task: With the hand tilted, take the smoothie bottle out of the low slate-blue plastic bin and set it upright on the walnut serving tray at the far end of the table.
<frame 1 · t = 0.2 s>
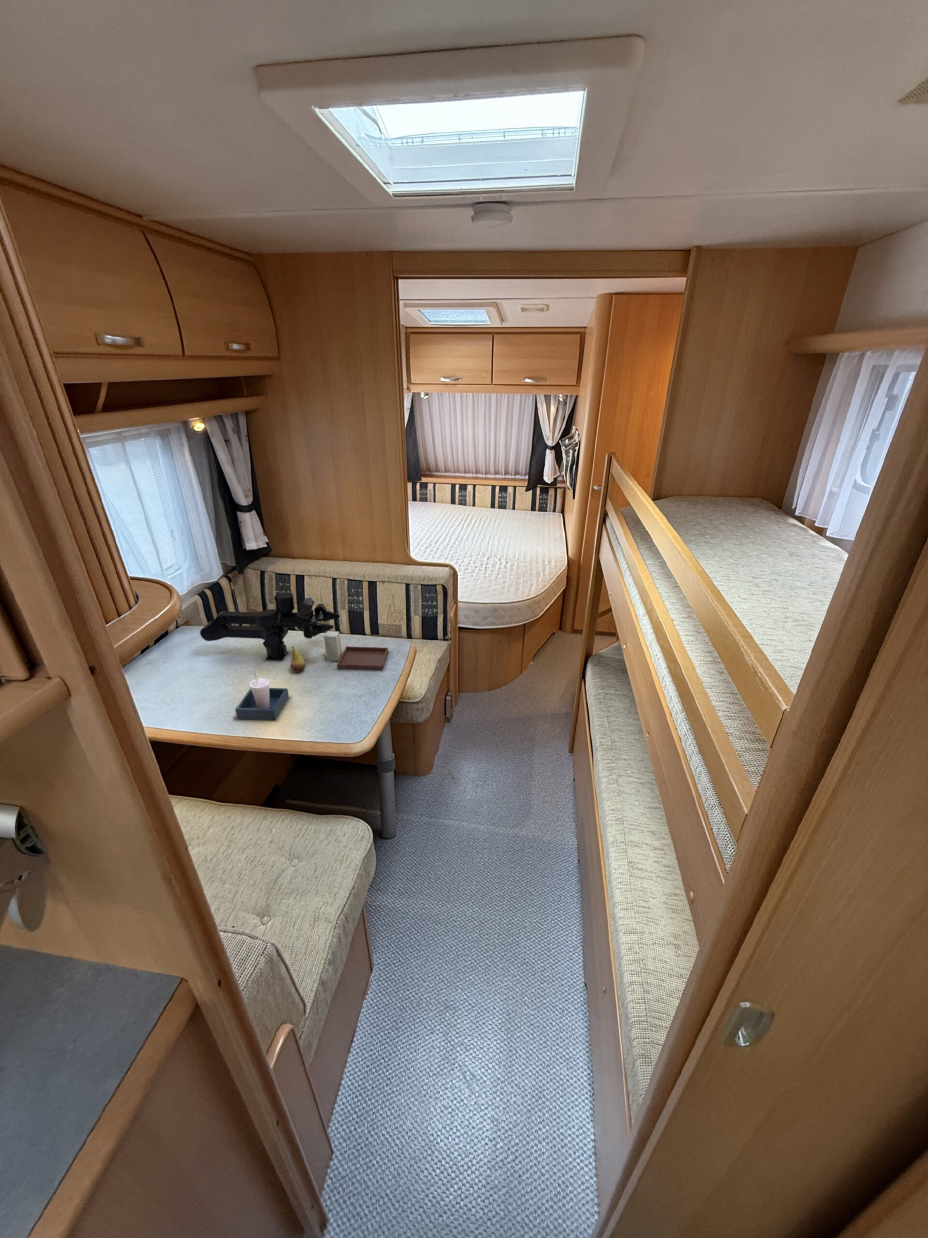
hand: (336, 621, 189), 17 cm above the table, tool horizontal, fingers open, 9 cm apart
fruit: (299, 671, 187), on the table
bin: (264, 708, 166), on the table
tray: (363, 660, 195), on the table
box: (334, 658, 196), on the table
smoothie: (264, 707, 166), resting on bin
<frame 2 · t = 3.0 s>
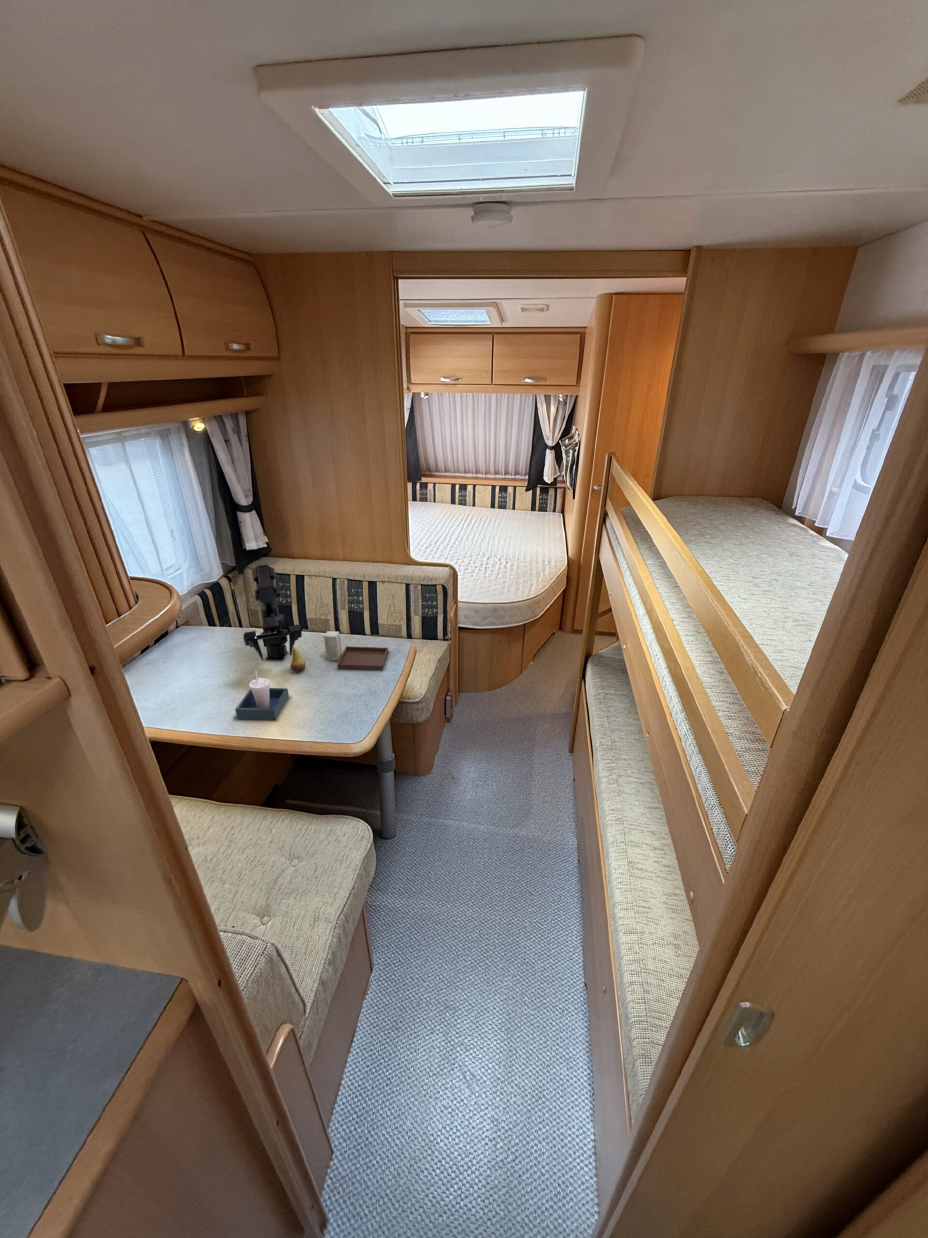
hand: (276, 657, 168), 14 cm above the table, tool tilted 50°, fingers open, 9 cm apart
nothing on the table moved.
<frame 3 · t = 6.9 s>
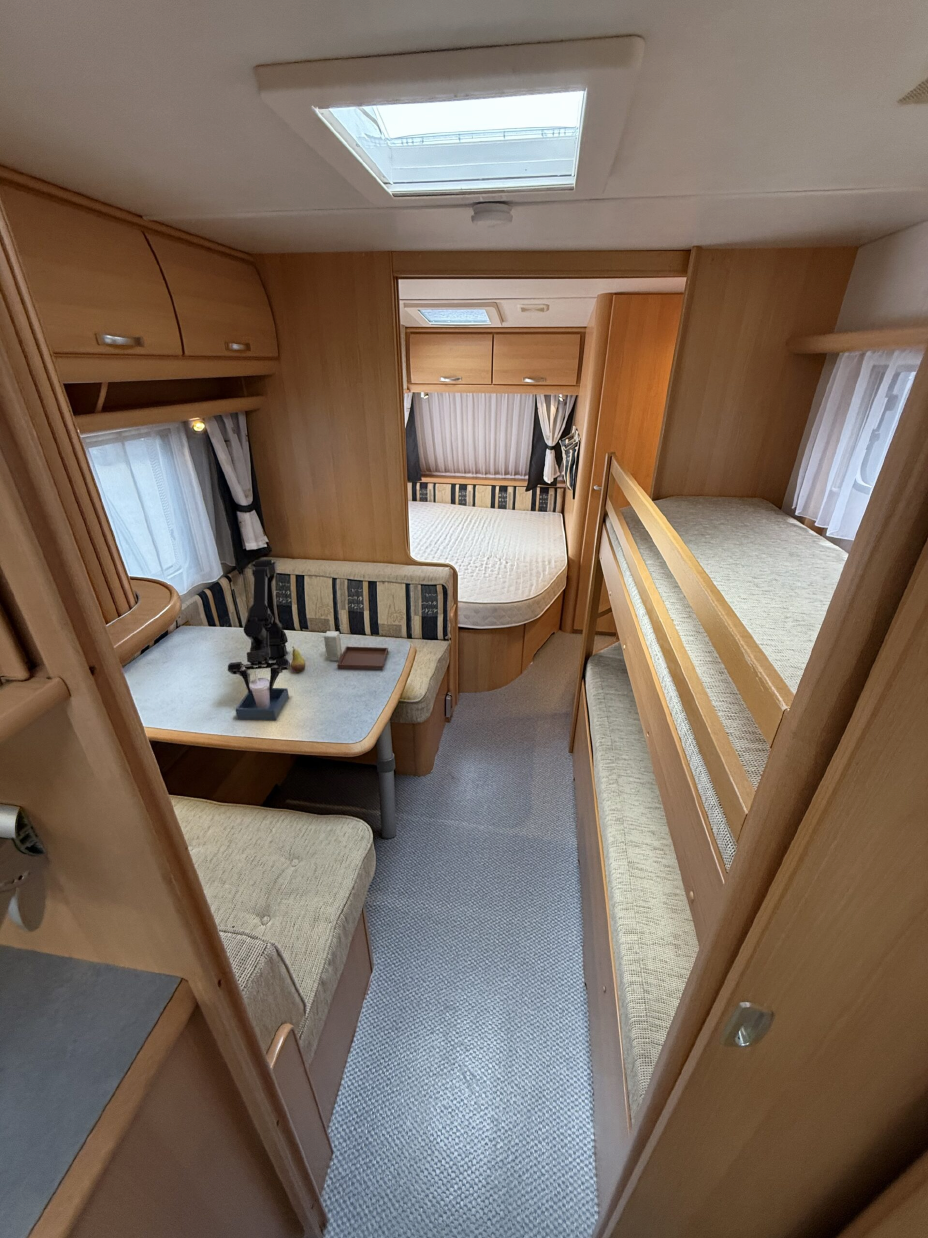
hand: (259, 691, 161), 8 cm above the table, tool tilted 45°, fingers closed on smoothie, 6 cm apart
smoothie: (264, 707, 166), resting on bin, touching gripper
everything else where it was.
when the fingers open (8 cm above the table, at t = 16.2 s): smoothie stays where it is, resting on tray.
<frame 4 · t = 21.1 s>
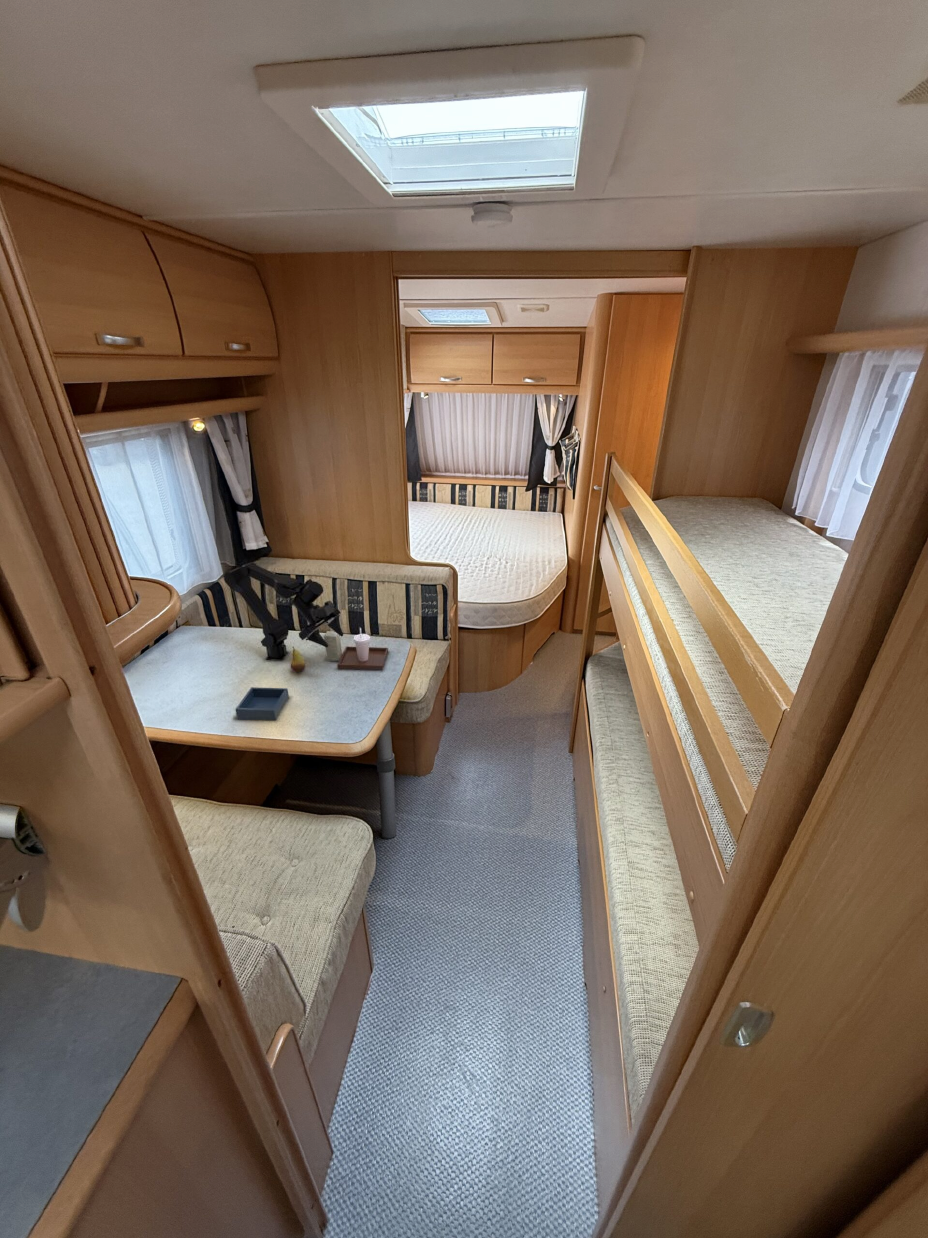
hand: (335, 641, 181), 14 cm above the table, tool tilted 45°, fingers open, 9 cm apart
smoothie: (363, 659, 195), resting on tray
everything else where it was.
at the end: smoothie inside the target area in the tray (0.2 cm from its centre), point 0.4 cm above the tray's base; smoothie tilted 0°; the gripper is holding nothing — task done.
